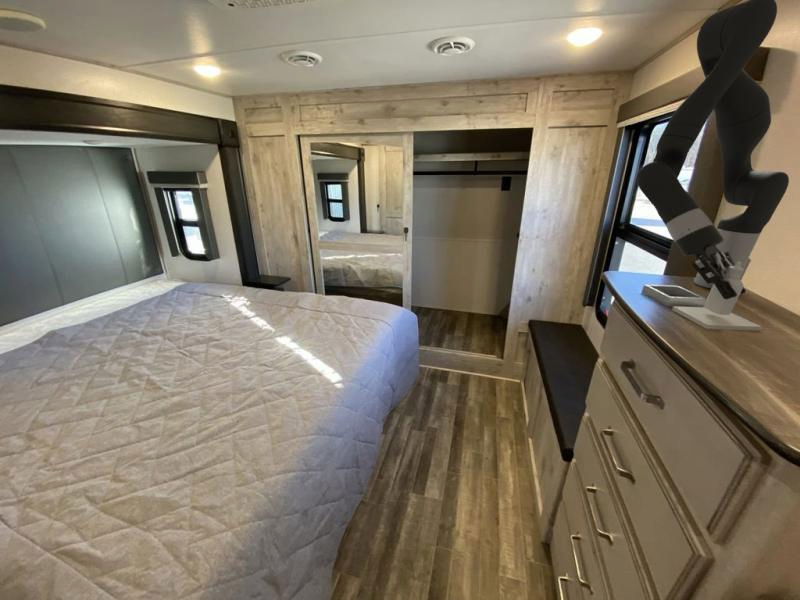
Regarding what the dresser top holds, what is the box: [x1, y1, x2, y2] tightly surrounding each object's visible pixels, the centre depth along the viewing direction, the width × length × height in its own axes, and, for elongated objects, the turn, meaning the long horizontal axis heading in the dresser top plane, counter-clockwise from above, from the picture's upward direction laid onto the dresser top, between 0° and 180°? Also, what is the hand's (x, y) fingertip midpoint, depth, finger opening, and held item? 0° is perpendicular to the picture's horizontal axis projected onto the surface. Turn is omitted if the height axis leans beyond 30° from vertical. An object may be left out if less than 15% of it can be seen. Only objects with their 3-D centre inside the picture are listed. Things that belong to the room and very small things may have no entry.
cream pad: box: [671, 306, 762, 332], centre depth 75 cm, size 12×10×1 cm
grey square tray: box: [641, 284, 707, 308], centre depth 86 cm, size 10×10×2 cm
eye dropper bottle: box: [704, 262, 744, 315], centre depth 72 cm, size 4×6×12 cm
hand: (735, 295), depth 71 cm, fingers closed on eye dropper bottle, 4 cm apart
